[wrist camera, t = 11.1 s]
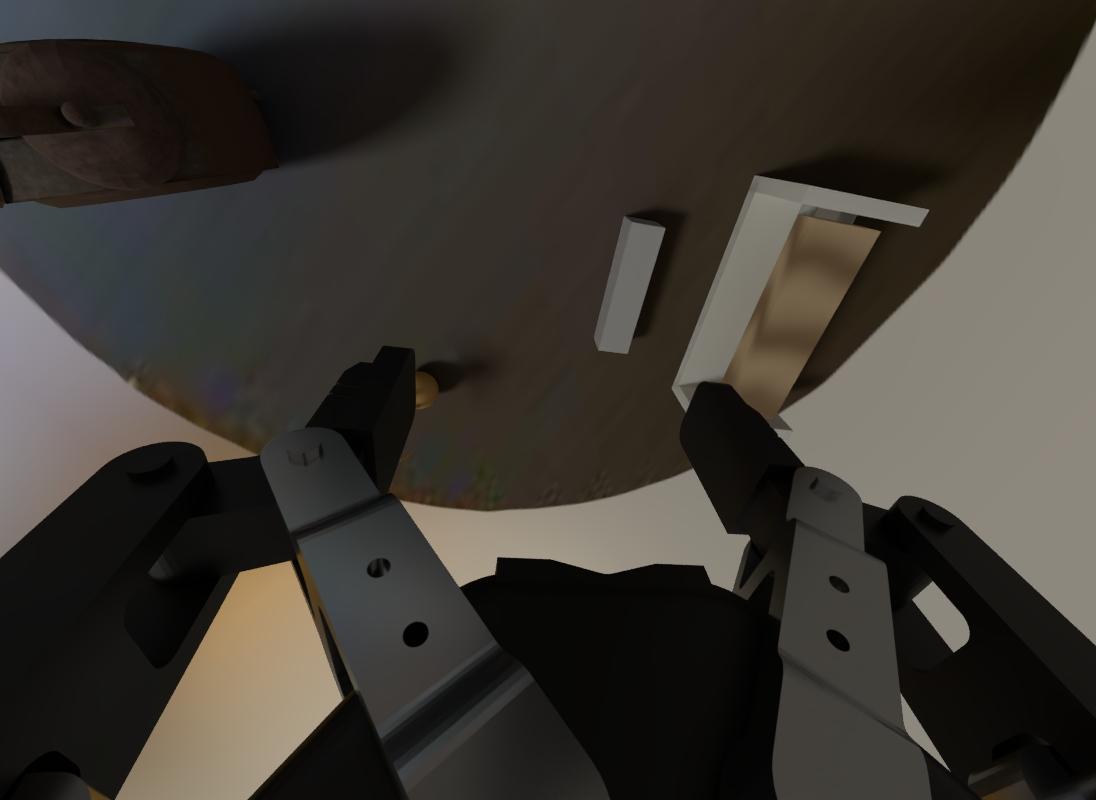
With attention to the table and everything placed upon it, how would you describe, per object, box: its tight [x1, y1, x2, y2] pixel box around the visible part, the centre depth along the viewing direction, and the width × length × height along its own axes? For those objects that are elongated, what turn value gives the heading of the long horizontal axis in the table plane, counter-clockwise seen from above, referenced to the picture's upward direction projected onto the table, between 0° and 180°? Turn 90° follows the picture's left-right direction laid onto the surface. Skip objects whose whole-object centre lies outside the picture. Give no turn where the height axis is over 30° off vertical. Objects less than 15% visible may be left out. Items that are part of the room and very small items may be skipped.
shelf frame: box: [672, 175, 929, 440], centre depth 39 cm, size 22×10×8 cm, turn 170°
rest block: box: [594, 216, 666, 354], centre depth 39 cm, size 12×3×3 cm, turn 170°
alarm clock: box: [0, 39, 279, 208], centre depth 23 cm, size 15×7×20 cm, turn 96°
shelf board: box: [721, 214, 881, 419], centre depth 37 cm, size 18×6×2 cm, turn 170°
